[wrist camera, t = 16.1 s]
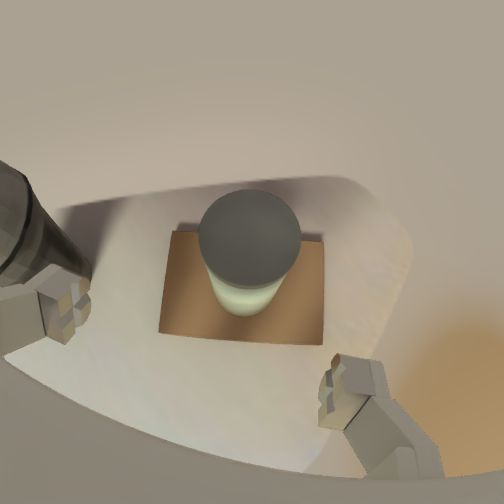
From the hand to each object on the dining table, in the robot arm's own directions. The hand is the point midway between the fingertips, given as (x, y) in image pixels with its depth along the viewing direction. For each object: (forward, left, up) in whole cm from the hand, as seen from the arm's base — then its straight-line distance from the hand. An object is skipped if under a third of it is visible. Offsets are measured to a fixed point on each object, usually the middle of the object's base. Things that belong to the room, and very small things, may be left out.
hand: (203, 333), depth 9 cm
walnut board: (+1, +5, -14) cm, 15 cm away
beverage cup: (-14, +4, -15) cm, 21 cm away
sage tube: (+1, +5, -13) cm, 14 cm away
